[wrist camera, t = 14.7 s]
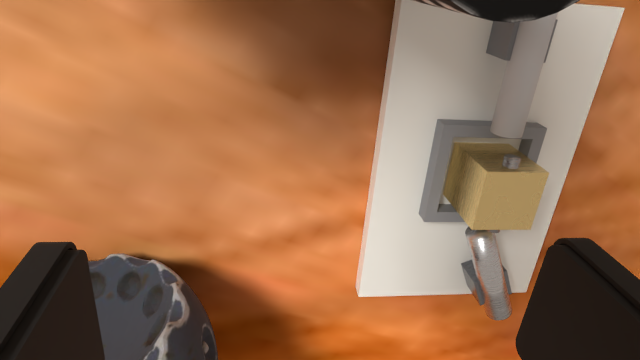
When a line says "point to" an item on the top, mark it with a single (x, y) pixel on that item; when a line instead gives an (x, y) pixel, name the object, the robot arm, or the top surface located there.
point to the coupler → (494, 186)
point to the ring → (148, 312)
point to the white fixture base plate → (472, 133)
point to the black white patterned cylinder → (503, 8)
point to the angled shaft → (487, 274)
